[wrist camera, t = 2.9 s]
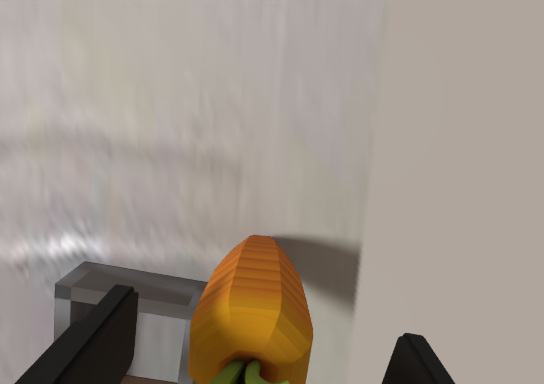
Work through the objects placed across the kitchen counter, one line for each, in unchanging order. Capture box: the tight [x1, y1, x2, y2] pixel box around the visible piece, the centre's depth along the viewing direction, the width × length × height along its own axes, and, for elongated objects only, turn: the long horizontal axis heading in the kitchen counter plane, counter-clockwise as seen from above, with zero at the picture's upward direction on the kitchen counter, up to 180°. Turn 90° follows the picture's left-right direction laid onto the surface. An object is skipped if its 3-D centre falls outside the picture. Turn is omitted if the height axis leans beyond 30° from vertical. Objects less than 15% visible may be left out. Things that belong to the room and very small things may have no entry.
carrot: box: [188, 235, 313, 384], centre depth 14 cm, size 5×5×15 cm
